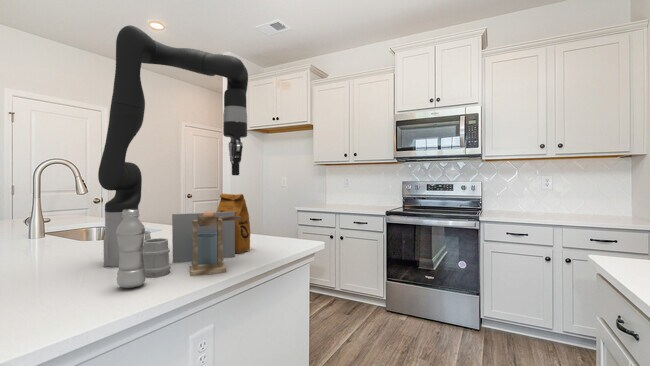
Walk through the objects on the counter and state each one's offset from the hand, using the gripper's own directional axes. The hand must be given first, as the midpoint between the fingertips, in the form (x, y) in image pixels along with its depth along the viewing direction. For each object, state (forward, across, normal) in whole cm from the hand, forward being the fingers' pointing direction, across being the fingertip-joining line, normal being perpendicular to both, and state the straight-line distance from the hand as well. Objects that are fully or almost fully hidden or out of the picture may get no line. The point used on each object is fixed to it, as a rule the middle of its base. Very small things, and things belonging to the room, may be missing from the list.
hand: (235, 175), depth 105 cm
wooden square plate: (+15, +4, -5) cm, 16 cm away
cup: (+29, -4, -9) cm, 31 cm away
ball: (+12, +8, -9) cm, 17 cm away
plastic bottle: (+29, +12, -28) cm, 42 cm away
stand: (+29, +5, -9) cm, 31 cm away
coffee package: (+29, -19, +2) cm, 35 cm away
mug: (+29, 0, -24) cm, 38 cm away
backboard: (+29, -10, -9) cm, 32 cm away
